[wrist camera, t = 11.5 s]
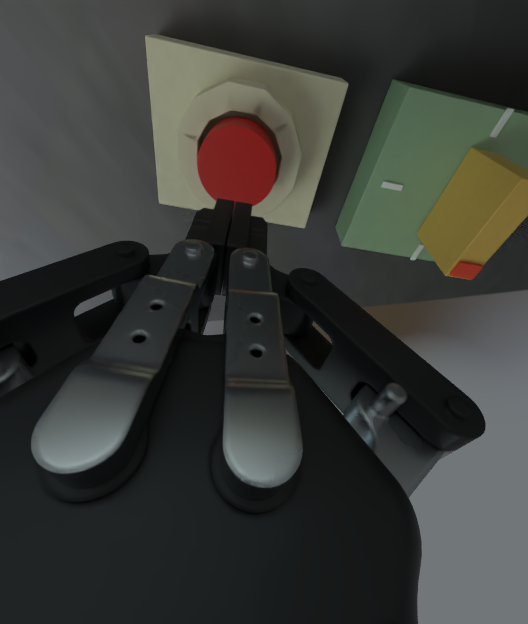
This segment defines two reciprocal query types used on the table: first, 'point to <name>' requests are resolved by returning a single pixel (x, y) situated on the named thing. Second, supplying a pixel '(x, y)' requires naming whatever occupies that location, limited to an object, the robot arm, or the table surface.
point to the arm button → (237, 161)
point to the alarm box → (245, 103)
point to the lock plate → (420, 163)
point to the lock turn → (475, 213)
